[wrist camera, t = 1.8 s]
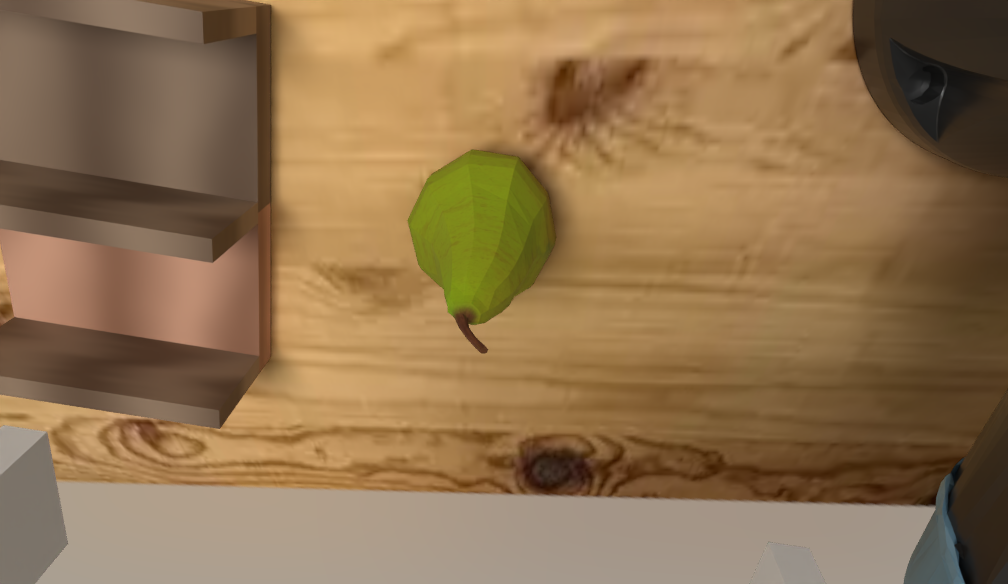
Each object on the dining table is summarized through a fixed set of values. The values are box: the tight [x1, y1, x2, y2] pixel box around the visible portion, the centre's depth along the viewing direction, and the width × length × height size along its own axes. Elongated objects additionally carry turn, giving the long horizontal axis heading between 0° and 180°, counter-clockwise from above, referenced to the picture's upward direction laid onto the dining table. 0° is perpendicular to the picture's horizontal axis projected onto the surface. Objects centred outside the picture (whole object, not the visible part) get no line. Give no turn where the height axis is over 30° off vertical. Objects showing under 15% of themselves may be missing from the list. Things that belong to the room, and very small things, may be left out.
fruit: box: [408, 150, 556, 353], centre depth 25 cm, size 6×6×12 cm
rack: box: [0, 0, 271, 429], centre depth 28 cm, size 12×17×6 cm
